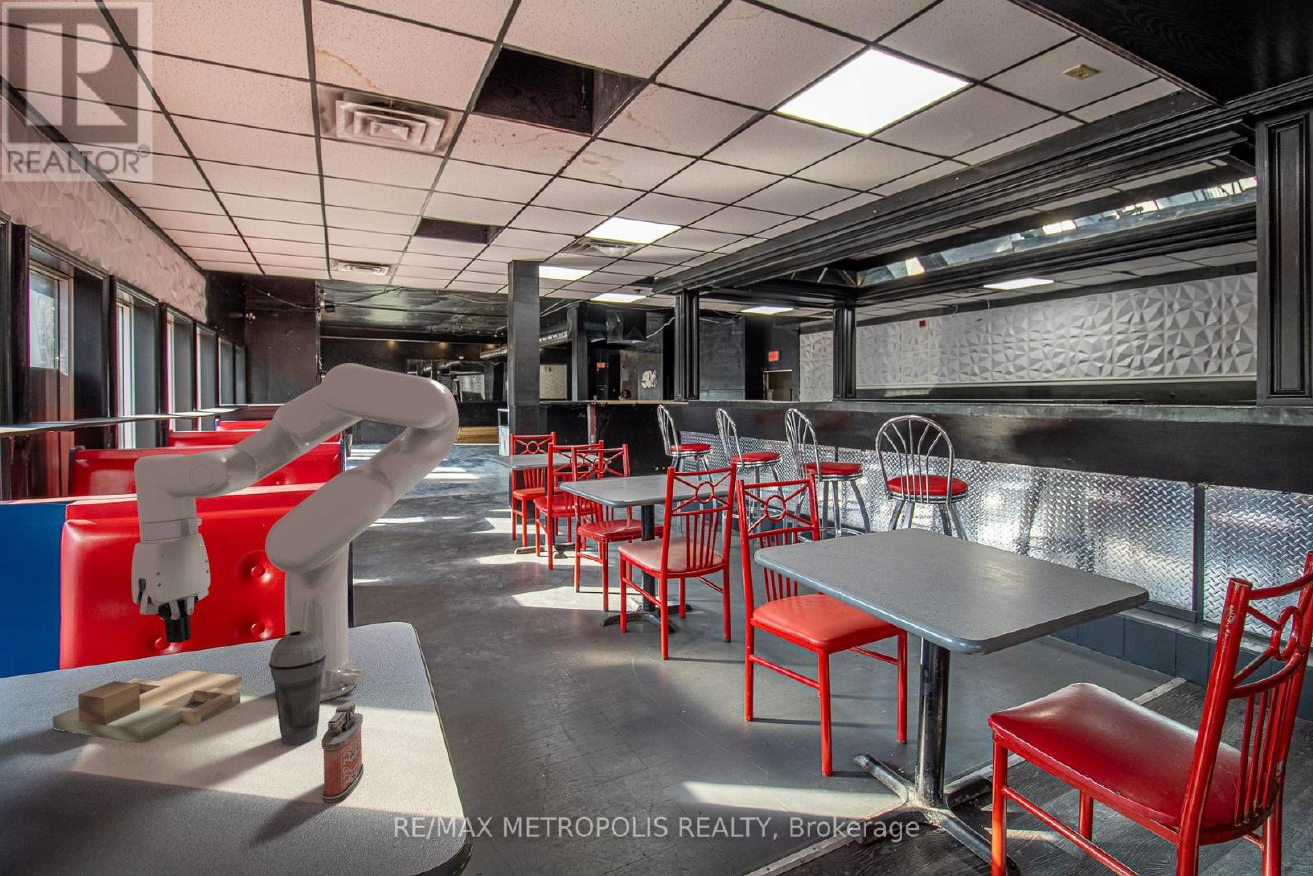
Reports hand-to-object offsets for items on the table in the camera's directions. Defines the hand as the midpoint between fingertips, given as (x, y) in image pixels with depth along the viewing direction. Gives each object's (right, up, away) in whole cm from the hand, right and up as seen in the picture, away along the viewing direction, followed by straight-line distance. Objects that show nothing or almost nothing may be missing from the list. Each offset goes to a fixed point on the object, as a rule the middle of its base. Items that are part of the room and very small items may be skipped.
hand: (179, 640), depth 105 cm
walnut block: (-4, -9, -9) cm, 13 cm away
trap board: (-2, -10, -2) cm, 11 cm away
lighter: (+39, -11, -24) cm, 47 cm away
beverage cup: (+26, -11, -12) cm, 31 cm away
